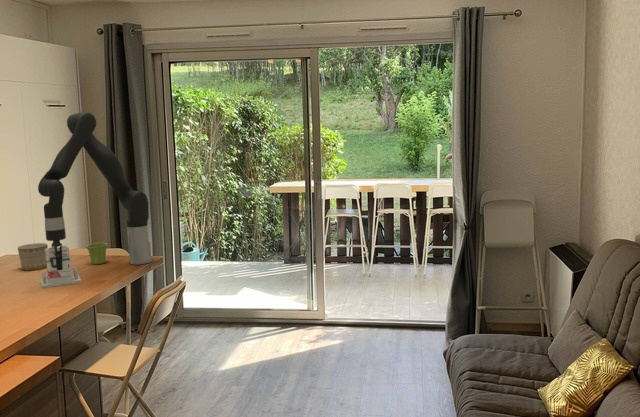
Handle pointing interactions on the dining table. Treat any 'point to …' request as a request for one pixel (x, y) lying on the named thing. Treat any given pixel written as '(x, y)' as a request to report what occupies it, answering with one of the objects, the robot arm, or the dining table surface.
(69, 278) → the white pegged base plate
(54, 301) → the dining table surface
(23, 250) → the planter
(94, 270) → the dining table surface
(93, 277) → the dining table surface
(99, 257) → the plant pot
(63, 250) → the ink box
